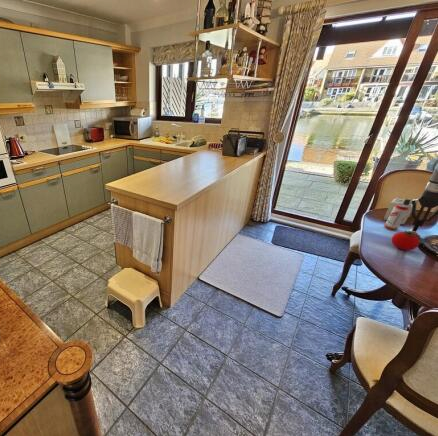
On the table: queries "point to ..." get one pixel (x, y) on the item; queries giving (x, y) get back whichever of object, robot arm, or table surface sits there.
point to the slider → (407, 201)
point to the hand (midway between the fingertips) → (414, 230)
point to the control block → (420, 239)
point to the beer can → (396, 217)
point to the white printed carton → (393, 204)
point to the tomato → (405, 240)
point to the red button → (413, 232)
